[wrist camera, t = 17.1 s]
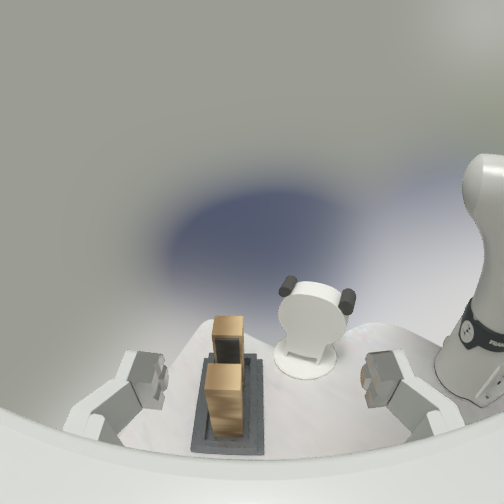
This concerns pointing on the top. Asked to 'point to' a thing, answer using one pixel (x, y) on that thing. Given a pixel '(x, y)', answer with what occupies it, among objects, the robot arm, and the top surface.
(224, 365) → the oak finger
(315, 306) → the panda figurine
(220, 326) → the block
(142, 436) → the top surface
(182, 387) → the top surface
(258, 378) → the dark grey tray
